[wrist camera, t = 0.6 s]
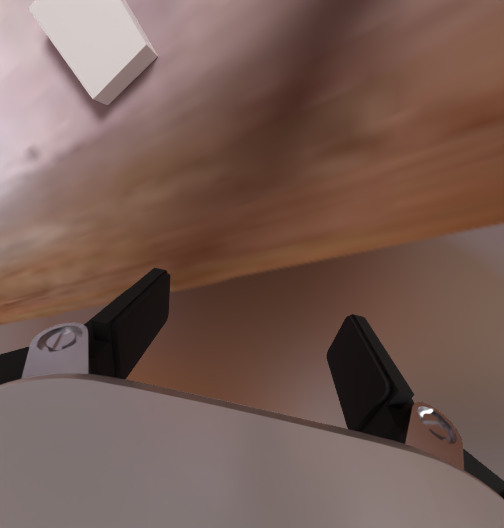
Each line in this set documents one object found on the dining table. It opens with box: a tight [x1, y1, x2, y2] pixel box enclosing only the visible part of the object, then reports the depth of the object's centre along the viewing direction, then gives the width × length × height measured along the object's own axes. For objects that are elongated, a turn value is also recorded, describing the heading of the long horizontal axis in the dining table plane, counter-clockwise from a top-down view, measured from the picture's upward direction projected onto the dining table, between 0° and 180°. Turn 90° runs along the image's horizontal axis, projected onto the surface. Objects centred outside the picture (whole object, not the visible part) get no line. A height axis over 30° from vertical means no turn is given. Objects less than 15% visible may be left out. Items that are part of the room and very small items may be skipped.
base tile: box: [29, 0, 158, 105], centre depth 28 cm, size 11×11×3 cm
